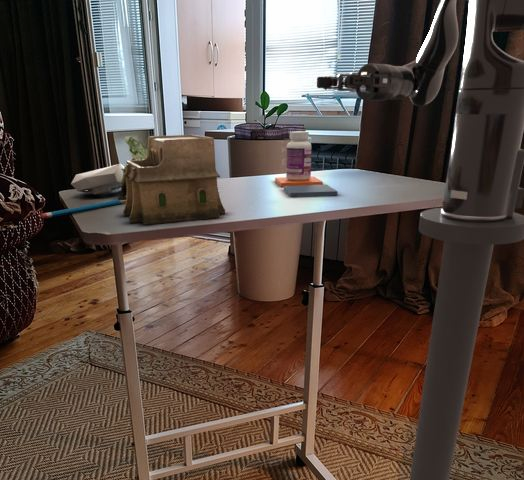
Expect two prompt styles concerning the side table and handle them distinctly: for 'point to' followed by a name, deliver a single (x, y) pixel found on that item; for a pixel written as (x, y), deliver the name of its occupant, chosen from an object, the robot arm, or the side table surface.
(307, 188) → the slate pad
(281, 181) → the terracotta pad
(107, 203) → the pencil
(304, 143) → the pill bottle
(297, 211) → the side table surface
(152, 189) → the miniature house
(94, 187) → the turret
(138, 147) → the terrain
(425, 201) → the side table surface
